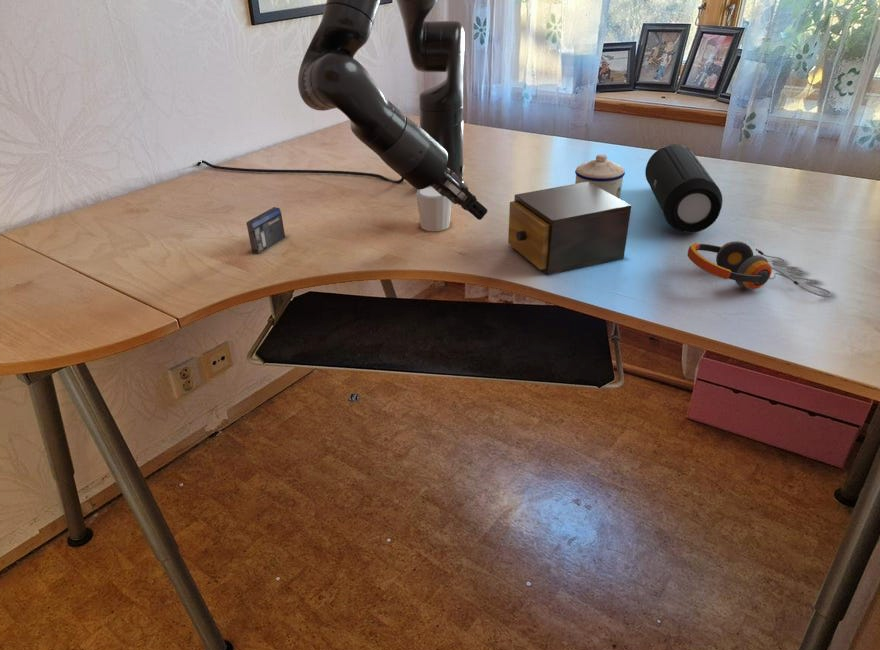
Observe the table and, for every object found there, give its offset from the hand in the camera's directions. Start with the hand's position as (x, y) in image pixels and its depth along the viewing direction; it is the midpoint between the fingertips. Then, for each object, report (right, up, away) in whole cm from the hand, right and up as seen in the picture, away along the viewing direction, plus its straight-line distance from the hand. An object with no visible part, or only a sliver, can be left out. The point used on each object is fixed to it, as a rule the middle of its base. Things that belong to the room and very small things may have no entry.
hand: (482, 214), depth 111 cm
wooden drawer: (+13, -5, +4) cm, 15 cm away
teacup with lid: (+25, +5, +19) cm, 32 cm away
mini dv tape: (-39, -3, +15) cm, 42 cm away
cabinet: (+15, -6, +5) cm, 17 cm away
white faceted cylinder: (-7, +2, +18) cm, 19 cm away
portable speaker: (+40, +4, +17) cm, 44 cm away
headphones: (+41, -12, -7) cm, 44 cm away
